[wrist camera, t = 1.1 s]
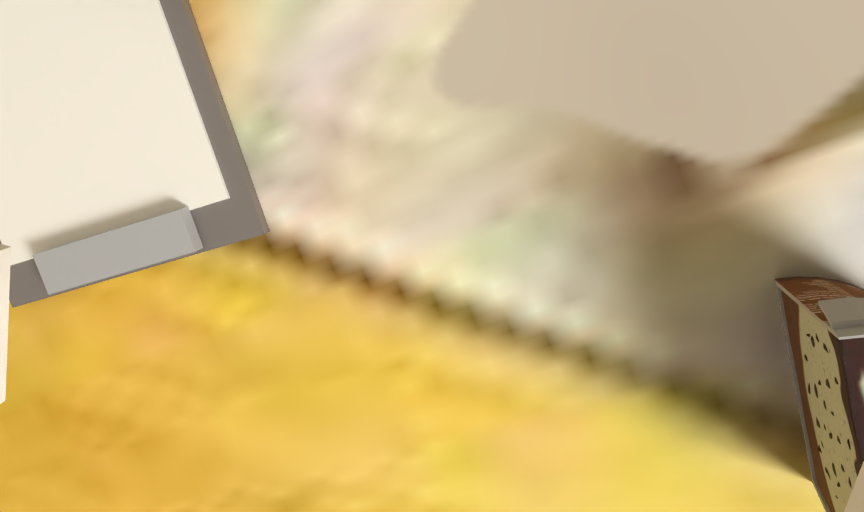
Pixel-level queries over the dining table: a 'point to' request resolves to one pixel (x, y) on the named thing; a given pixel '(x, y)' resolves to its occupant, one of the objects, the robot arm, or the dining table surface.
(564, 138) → the dining table surface
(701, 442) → the dining table surface
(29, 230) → the clipboard
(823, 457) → the food container
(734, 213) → the dining table surface
